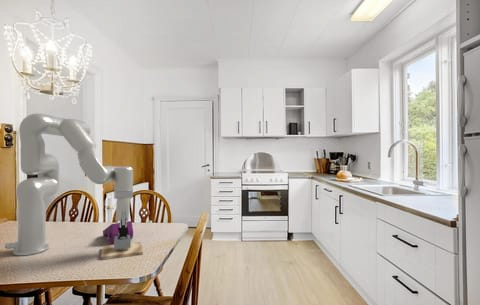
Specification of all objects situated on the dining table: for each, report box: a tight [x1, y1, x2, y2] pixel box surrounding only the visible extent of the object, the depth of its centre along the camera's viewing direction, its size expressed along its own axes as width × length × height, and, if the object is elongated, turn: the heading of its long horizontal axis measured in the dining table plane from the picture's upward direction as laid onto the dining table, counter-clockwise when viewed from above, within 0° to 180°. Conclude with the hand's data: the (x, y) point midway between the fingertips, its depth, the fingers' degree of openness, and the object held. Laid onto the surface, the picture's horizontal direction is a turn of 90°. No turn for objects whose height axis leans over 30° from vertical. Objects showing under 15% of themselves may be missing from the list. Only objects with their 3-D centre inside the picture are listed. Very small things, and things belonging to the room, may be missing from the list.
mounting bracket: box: [102, 220, 134, 245], centre depth 135 cm, size 10×8×18 cm
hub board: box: [100, 237, 144, 261], centre depth 117 cm, size 16×14×6 cm
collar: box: [113, 235, 132, 250], centre depth 117 cm, size 6×6×4 cm
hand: (122, 236), depth 117 cm, fingers closed
